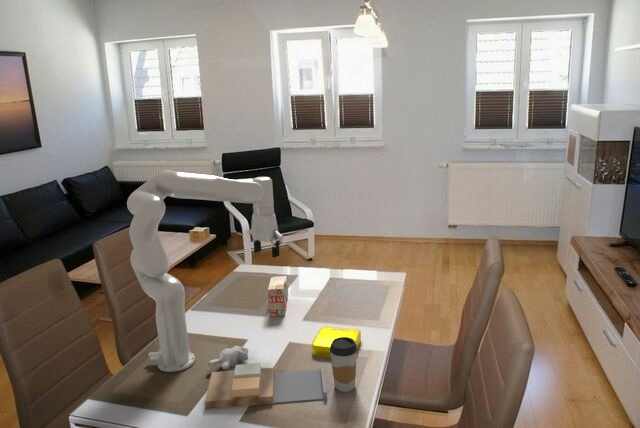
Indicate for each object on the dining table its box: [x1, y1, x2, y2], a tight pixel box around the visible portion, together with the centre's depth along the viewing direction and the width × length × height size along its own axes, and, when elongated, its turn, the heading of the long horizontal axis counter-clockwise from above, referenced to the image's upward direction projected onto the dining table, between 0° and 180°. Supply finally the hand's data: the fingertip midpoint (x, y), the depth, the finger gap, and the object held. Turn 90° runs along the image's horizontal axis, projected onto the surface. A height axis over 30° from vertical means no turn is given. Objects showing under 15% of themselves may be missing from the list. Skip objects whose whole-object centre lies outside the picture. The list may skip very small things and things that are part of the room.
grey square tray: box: [272, 363, 328, 405], centre depth 162 cm, size 16×16×2 cm
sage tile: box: [234, 362, 262, 380], centre depth 164 cm, size 8×6×2 cm
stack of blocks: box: [267, 275, 289, 317], centre depth 220 cm, size 21×6×12 cm, turn 0°
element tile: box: [311, 326, 362, 358], centre depth 184 cm, size 15×15×5 cm
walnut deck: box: [204, 367, 275, 410], centre depth 161 cm, size 20×16×2 cm
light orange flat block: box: [232, 377, 260, 397], centre depth 156 cm, size 8×6×2 cm
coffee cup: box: [330, 337, 358, 393], centre depth 159 cm, size 8×8×15 cm
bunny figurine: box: [208, 345, 249, 371], centre depth 177 cm, size 10×5×15 cm
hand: (266, 254), depth 197 cm, fingers open, 9 cm apart
